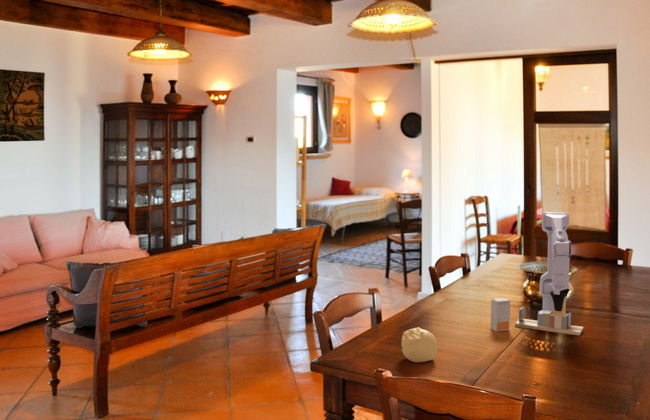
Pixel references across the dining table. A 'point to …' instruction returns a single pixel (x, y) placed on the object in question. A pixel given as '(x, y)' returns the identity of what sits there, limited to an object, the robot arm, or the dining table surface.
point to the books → (551, 320)
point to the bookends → (521, 317)
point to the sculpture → (419, 345)
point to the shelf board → (533, 325)
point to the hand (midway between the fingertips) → (559, 309)
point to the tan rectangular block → (562, 312)
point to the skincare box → (500, 314)
